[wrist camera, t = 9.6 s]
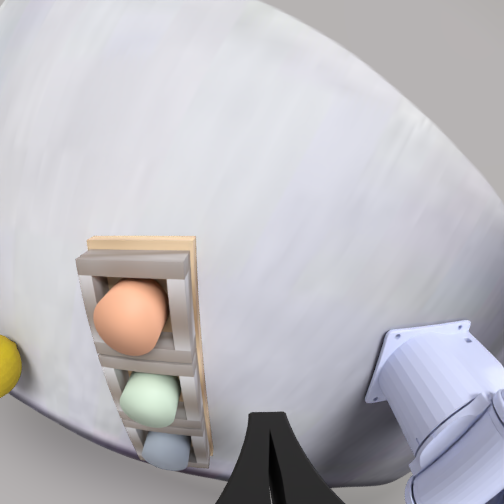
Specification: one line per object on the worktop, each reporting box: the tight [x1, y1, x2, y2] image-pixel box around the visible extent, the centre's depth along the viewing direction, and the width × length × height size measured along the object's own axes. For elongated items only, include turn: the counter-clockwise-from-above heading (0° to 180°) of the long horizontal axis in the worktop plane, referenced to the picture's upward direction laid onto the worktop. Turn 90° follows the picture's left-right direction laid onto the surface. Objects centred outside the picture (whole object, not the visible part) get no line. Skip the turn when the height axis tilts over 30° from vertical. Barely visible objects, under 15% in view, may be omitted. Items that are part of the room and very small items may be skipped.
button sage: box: [120, 371, 181, 428], centre depth 18 cm, size 4×4×3 cm
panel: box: [75, 236, 213, 468], centre depth 20 cm, size 22×7×3 cm, turn 179°
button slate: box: [142, 431, 192, 471], centre depth 20 cm, size 4×4×3 cm
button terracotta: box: [93, 277, 170, 356], centre depth 16 cm, size 4×4×3 cm
